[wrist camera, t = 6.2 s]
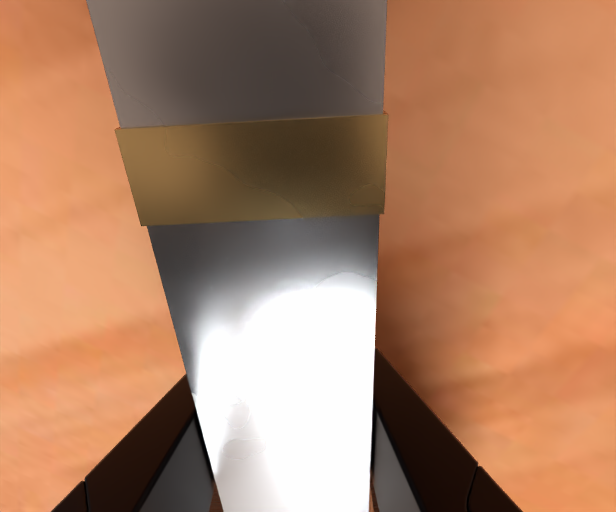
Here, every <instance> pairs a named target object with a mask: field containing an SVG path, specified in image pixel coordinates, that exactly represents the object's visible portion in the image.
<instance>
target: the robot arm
mask: <svg viewBox="0 0 616 512" xmlns="http://www.w3.org/2000/svg"><path fill="white" fill-rule="evenodd" d="M370 473H371V477H372V481H373V486H374V490H375V494H376V498H377V503H378V507H379V511H380V512H523V511H522V510H521V509H520V508H519V507H518V506H517V505H516V504H515V503H514V502H513V501H512V500H511V498H510V497H509V496H508V495H507V494H506V493H505V492H504V491H503V490H502V489H501V488H500V487H499V486H498V484H497V483H496V482H495V481H494V480H493V479H492V478H491V477H490V475H489V474H488V473H487V472H486V471H485V470H484V469H483V467H482V466H478V462H477V461H476V460H475V459H474V457H473V456H472V455H471V454H470V453H469V452H468V451H467V449H466V448H465V447H464V446H463V445H462V444H461V443H460V442H459V440H458V439H457V438H456V437H455V436H454V435H453V434H452V432H451V431H450V430H449V429H448V428H447V427H446V426H445V425H444V423H443V422H442V421H441V420H440V419H439V418H438V417H437V415H436V414H435V413H434V412H433V411H432V410H431V409H430V408H429V406H428V405H427V404H426V403H425V402H424V401H423V400H422V398H421V397H420V396H419V395H418V394H417V393H416V392H415V391H414V389H413V388H412V387H411V386H410V385H409V384H408V383H407V381H406V380H405V379H404V378H403V377H402V376H401V375H400V374H399V372H398V371H397V370H396V369H395V368H394V367H393V366H392V364H391V363H390V362H389V361H388V360H387V359H386V358H385V357H384V355H383V354H382V353H381V352H380V351H379V350H378V349H377V348H375V349H374V377H373V405H372V433H371V460H370ZM84 480H85V482H84V481H81V482H80V483H79V484H78V485H77V486H76V487H75V488H74V489H73V490H72V491H71V492H70V493H69V494H68V495H67V496H66V497H65V498H64V499H63V500H62V501H61V502H60V503H59V504H58V505H57V506H56V507H55V508H54V509H53V510H52V511H51V512H209V508H210V504H211V500H212V495H213V491H214V487H215V482H216V481H215V478H214V474H213V470H212V466H211V463H210V459H209V455H208V451H207V448H206V444H205V440H204V437H203V433H202V429H201V425H200V422H199V418H198V414H197V411H196V407H195V403H194V399H193V396H192V392H191V388H190V385H189V381H188V377H187V373H186V374H185V375H184V376H183V377H182V378H181V379H180V380H179V381H178V382H177V383H176V384H175V385H174V386H173V387H172V389H171V390H170V391H169V392H168V393H167V394H166V395H165V396H164V397H163V398H162V399H161V400H160V401H159V402H158V403H157V404H156V405H155V406H154V407H153V408H152V409H151V410H150V411H149V412H148V413H147V414H146V415H145V416H144V417H143V418H142V419H141V420H140V421H139V422H138V423H137V424H136V425H135V426H134V427H133V429H132V430H131V431H130V432H129V433H128V434H127V435H126V436H125V437H124V438H123V439H122V440H121V441H120V442H119V443H118V444H117V445H116V446H115V447H114V448H113V449H112V450H111V451H110V452H109V453H108V454H107V455H106V456H105V457H104V458H103V459H102V460H101V461H100V462H99V463H98V464H97V465H96V466H95V468H94V469H93V470H92V471H91V472H90V473H89V474H88V475H87V476H86V477H85V479H84Z"/></svg>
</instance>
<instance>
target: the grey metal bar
mask: <svg viewBox="0 0 616 512" xmlns="http://www.w3.org/2000/svg"><path fill="white" fill-rule="evenodd" d="M86 1H87V5H88V9H89V13H90V16H91V20H92V24H93V27H94V31H95V35H96V39H97V42H98V46H99V50H100V53H101V57H102V61H103V65H104V68H105V72H106V76H107V79H108V83H109V87H110V91H111V94H112V98H113V102H114V106H115V109H116V113H117V117H118V120H119V124H120V127H119V128H117V129H115V133H116V137H117V140H118V144H119V148H120V151H121V155H122V158H123V162H124V166H125V169H126V173H127V177H128V180H129V184H130V187H131V191H132V195H133V198H134V202H135V206H136V209H137V213H138V216H139V220H140V224H141V226H147V228H148V232H149V236H150V239H151V243H152V247H153V251H154V254H155V258H156V262H157V265H158V269H159V273H160V277H161V280H162V284H163V288H164V292H165V295H166V299H167V303H168V306H169V310H170V314H171V318H172V321H173V325H174V329H175V332H176V336H177V340H178V344H179V347H180V351H181V355H182V358H183V362H184V366H185V370H186V373H187V377H188V381H189V385H190V388H191V392H192V396H193V399H194V403H195V407H196V411H197V414H198V418H199V422H200V425H201V429H202V433H203V437H204V440H205V444H206V448H207V451H208V455H209V459H210V463H211V466H212V470H213V474H214V478H215V481H216V485H217V489H218V492H219V496H220V500H221V504H222V507H223V511H224V512H369V488H370V460H371V433H372V405H373V377H374V349H375V322H376V294H377V266H378V239H379V214H384V203H385V179H386V156H387V132H388V114H387V113H386V112H385V111H384V110H383V100H384V72H385V44H386V17H387V0H86Z"/></svg>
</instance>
